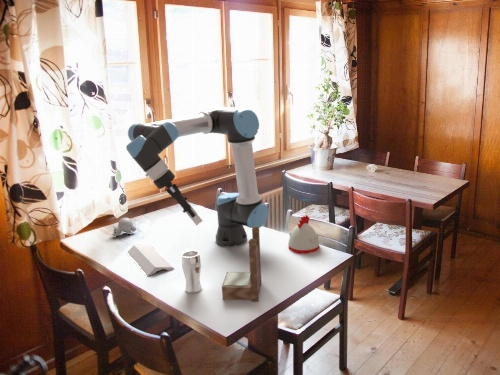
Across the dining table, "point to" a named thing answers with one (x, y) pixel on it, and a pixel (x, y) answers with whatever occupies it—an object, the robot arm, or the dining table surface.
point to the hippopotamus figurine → (124, 227)
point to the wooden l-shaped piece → (245, 275)
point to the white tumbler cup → (192, 270)
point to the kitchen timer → (303, 238)
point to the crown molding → (148, 259)
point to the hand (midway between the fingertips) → (196, 219)
